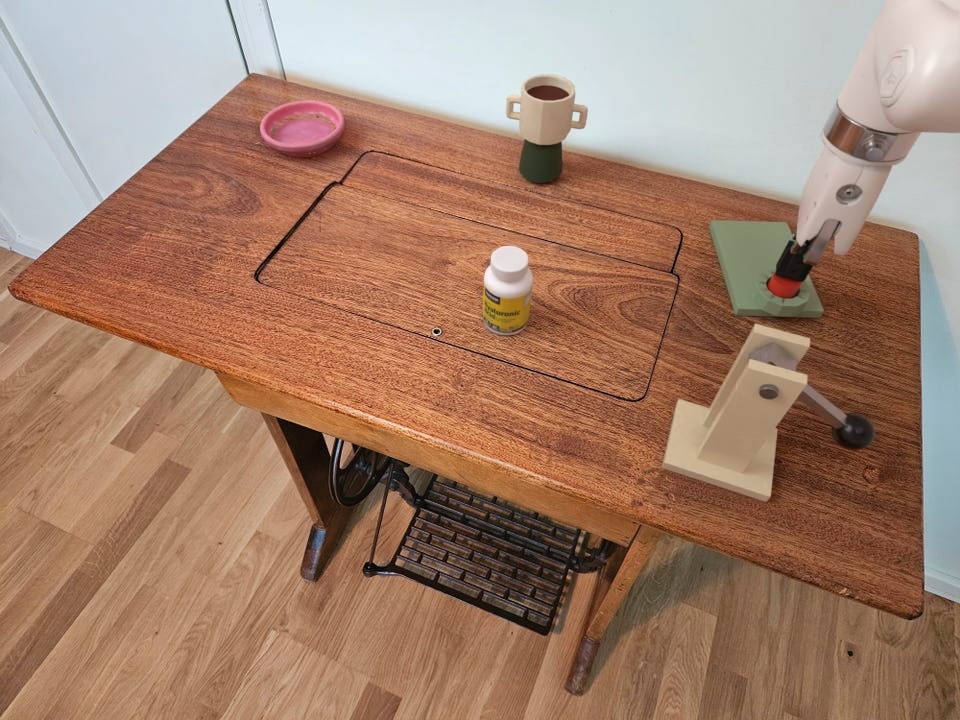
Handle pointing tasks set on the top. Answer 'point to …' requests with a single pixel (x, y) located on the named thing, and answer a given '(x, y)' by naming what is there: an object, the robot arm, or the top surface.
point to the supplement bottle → (507, 291)
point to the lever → (822, 403)
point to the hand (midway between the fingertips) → (789, 274)
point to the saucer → (303, 128)
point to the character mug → (545, 124)
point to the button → (783, 287)
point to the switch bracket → (738, 420)
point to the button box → (759, 269)
